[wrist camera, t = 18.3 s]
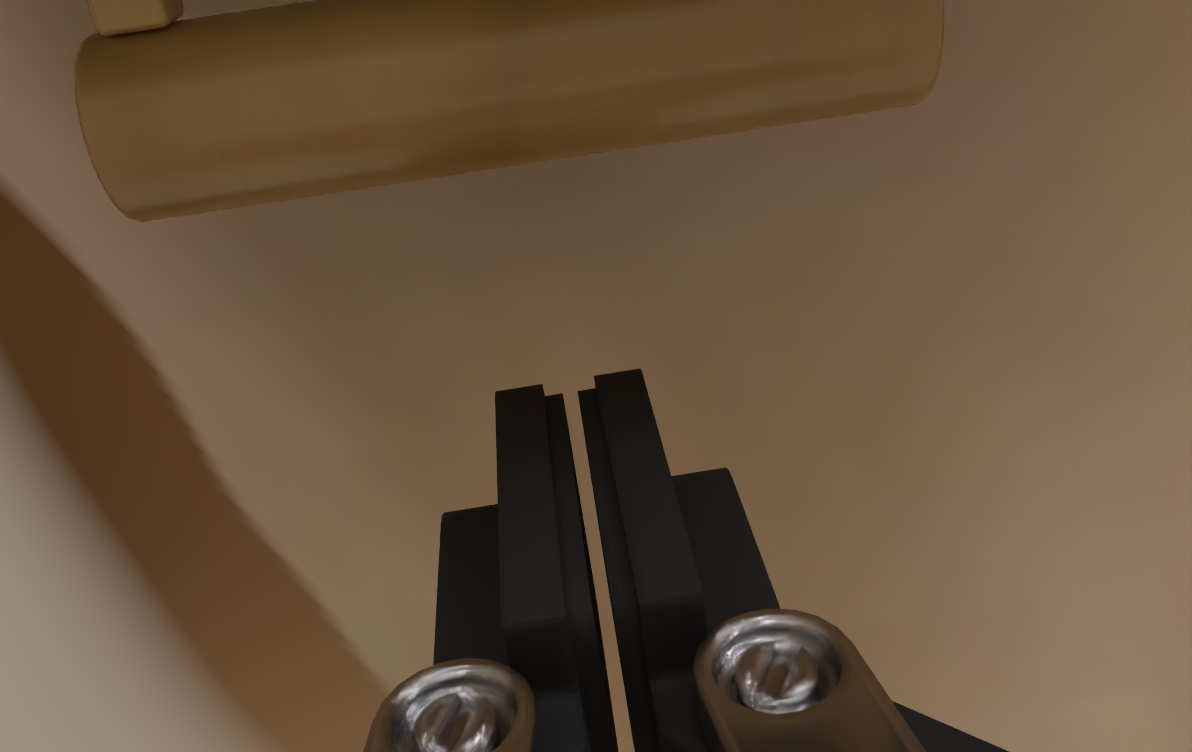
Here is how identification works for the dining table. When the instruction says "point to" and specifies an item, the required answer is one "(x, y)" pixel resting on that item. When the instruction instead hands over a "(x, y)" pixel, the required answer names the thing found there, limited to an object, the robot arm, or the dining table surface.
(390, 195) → the dining table surface
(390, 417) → the dining table surface
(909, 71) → the drawer
